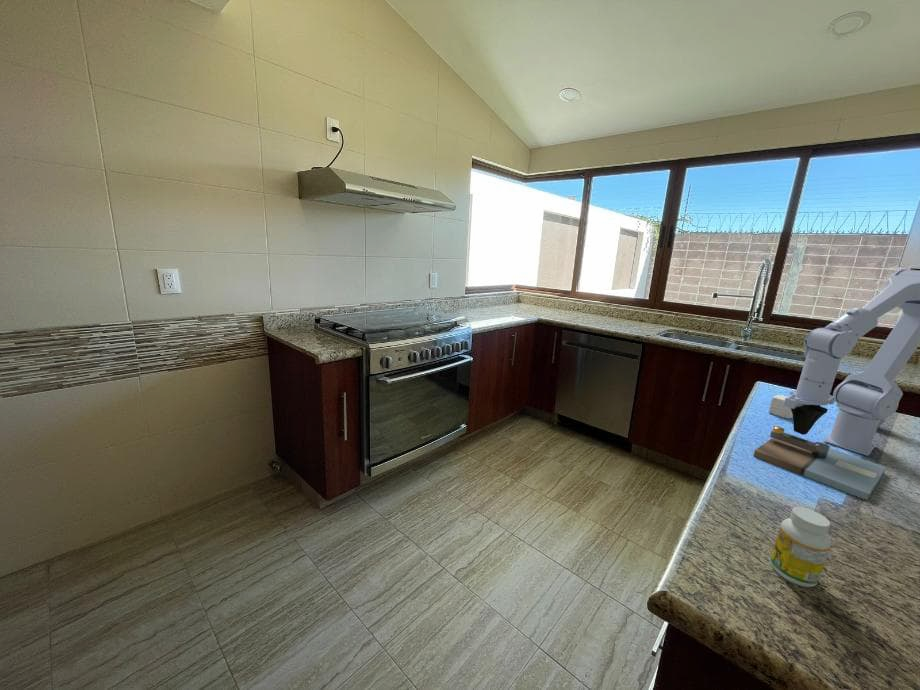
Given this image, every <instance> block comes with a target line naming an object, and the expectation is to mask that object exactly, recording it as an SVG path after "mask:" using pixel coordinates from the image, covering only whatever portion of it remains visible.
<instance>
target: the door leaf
mask: <svg viewBox="0 0 920 690" xmlns="http://www.w3.org/2000/svg"><path fill="white" fill-rule="evenodd" d="M886 468H887V467H886V466H885V465H881V464H878V463H875V462H873V461H869V460H866V459H863V458H860V457H858V456H855V455H851V454H849V453H846V452H843V451H840V450H836V449H834V448H831V447H830V448H829V451H828V454H827V457H826V458H819V457H818V458H817V459H816V460H815V461H814V462H813V463H811V464H810V465H809V466H808V467H807V468H806V469H805V472H804V475H802V476H803V477H805V478H808V479H811V480H814V481H816V482H819V483H821V484H824V485H826V486H829V487H832V488H834V489H837V490H839V491H842V492H844V493H846V494H849V495H852V496H854V495H855V496H854V497H856V496H857V497H856V498H859V497H860V498H859V499H861V498H862V500H864V499H865V500H864V501H866V500H867V501H868V499H869V497H870V496H871V494H872V493H873V491H874V489H875V488H876V486H877V485H878V484H879V482H880V480H881V478H882V476H883V475H884V473H885V470H886Z"/></svg>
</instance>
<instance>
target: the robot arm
mask: <svg viewBox="0 0 920 690" xmlns="http://www.w3.org/2000/svg"><path fill="white" fill-rule="evenodd" d="M897 307H898V308H899V309H900V310H902V312H903V313H902V315H901V317H900V318H899V320H898V321H897V323H896V324H895V325H894V327H893V329H892V330H891V331H890V333H889V334H888V336H887V338H885V340H884V342H883V343H882V345H880V347H879V349H878V350H877V352H876V353H875V355H874V357H873V358H872V359H871V361H870V362H869V364H868V365H867V366H866V368H865V369H864V371H859V372H856V373H851V374H848V375H847V376H846V378H845V379H844V380H843V381H842V382H841V383H839V384H838V385H837V386H836V387H835V388H834V390H833V394H832V395H831V392H832V388H833V386H834V382H835V379H836V377H837V376H836V375H837V373H838V369H839V367H840V364H841V360H842V358H844V357H846V356H848V355H850V353H851V352H852V351H853V349H854V347H855V346H856V345H857V344H858V342H859V339H861V337H863V336H865V335H866V334H867V333H869V332H870V331H872V330H873V329H874V328H876V327H877V326H878V324H879V320H878V319H879V318H880V317H882V316H884V315H885V314H887V313H889V312H890V311H892V310H894V309H896V308H897ZM919 345H920V270H918V269H917V270H915V269H906V268H900V269H898V270H896V271H895V272H894V273H893V274H892V275H890V276H888V278H887V279H886V282H885V286H884V288H883V289H882V290H881V291H880V292H879V293H877V294H876V295H875V296H874V297H873V298H872V299H870V300H869V301H868V302H867V303H866V304H864V305H863V306H862V307H854V308H849V310H847V311H846V312H844V313H843V314H842V315H840V316H839V317H837V318H836V319H835V320H833V321H832V322H831V323H829V324H827V325H826V326H824V327H818V328H815V329H812V330H811V331H809V332H808V334H807V335H806V337H804V339H803V347H804V353H803V355H804V357H805V360H804V363H803V367H802V370H801V374H800V377H799V380H798V383H797V386H796V387H797V388H796V389H795V390H791V391H790V392H789V394H790V396H787V397H788V398H785V401H784V406H787V407H790V408H791V411H792V414H793V417H792V420H793V423H792V425H793V431H794V432H795V433H798V434H800V435H807V434H808V433H809V432H810V430H811V429H812V428H813V426H814V425H815V424H816V423H817V421H818V420H819V419H820V418H821V417H823V415H826V414H827V412H828V410H829V409H828V408H826V407H823V406H828V405H834V404H835V403H836V407H837V408H839V409H838V411H837V414H836V417H835V421H834V423H833V427H832V430H831V433H830V434H829V435H828V436H826V438H824V439H823V443H827V444H830V445H833V446H836V447H840V448H841V449H845V450H848V451H851V452H854V453H858V454H860V455H863V456H867V457H869V456H870V455H871V453H872V452H873V450H874V449H875V447H876V446H877V445H876V444H875V443H873V441H874V438H875V436H876V433H877V430H878V428H879V427H878V425H879V422H880V419H885V420H886V419H887V418H889V417H891V416H893V415H894V414H895V412H896V411H897V410H898V408H899V404H900V403H899V402H900V400H901V399H902V397H903V395H904V393H903V391H902V390H901V388H900V386H898V384H897V383H896V382H895V380H896V379H897V377H898V376H899V374H900V373H901V371H902V370H903V369H904V367H905V365H907V362H908V361H909V360H910V359H911V357H912V355H913V354H914V353H915V351H917V348H918V347H920V346H919ZM868 386H869V387H872V388H869V387H868ZM873 388H876V389H879V390H882V391H883V392H882V391H879V390H876V389H873Z"/></svg>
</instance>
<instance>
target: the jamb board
mask: <svg viewBox="0 0 920 690" xmlns="http://www.w3.org/2000/svg"><path fill="white" fill-rule="evenodd" d="M753 457H755V458H756V459H760V460H763V461H764V462H768V463H770V464H773V465H774V466H775V465H776V466H778V467H780V468H783V469H785V470H787V471H790V472H794V473H795V474H798V475H801V476H803V475H804V472H805V469H806V468H807V467H808V466H809V465H810V464H811V463H813V462H814V461H815V460H816V459H817V458H818V457H816V456H814V455H813V454H812V451H809V450H806V449H803V448H800V447H798V446H795V445H792V444H789V443H786V442H783V441H781V440H778V439H775V438H772V437H771V438H770V439H769V440H767V441H766V442H764V443H763V444H762V445H760V446H759V447H757V448H756V449H755V450H754V452H753Z"/></svg>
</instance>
